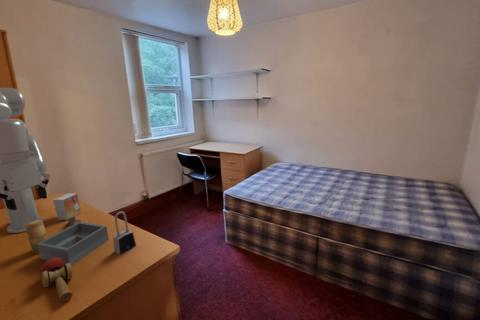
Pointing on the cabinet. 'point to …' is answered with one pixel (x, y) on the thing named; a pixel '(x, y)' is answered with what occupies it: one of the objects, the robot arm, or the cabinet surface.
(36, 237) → the peg
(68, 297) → the kendama
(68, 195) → the small box
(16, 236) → the cabinet surface
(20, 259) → the cabinet surface
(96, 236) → the peg box
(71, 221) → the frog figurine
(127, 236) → the padlock
